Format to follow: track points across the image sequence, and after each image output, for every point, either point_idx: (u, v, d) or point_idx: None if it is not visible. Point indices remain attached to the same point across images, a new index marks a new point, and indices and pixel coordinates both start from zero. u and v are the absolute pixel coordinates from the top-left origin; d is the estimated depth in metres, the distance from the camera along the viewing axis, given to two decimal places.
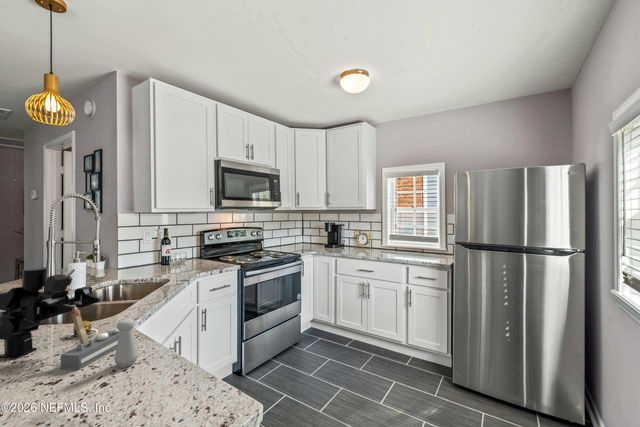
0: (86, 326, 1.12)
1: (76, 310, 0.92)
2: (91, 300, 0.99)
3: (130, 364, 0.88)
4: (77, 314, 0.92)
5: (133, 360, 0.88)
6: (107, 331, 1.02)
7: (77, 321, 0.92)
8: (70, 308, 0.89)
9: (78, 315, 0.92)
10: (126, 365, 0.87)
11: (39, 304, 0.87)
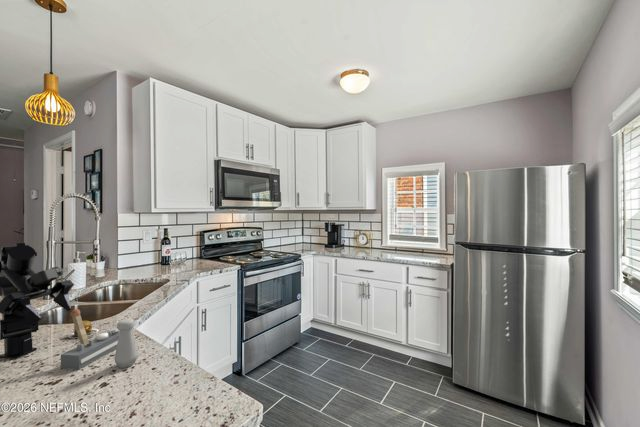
0: (86, 326, 1.12)
1: (76, 310, 0.92)
2: (64, 304, 0.98)
3: (130, 364, 0.88)
4: (77, 314, 0.92)
5: (133, 360, 0.88)
6: (107, 331, 1.02)
7: (77, 321, 0.92)
8: (39, 319, 0.89)
9: (78, 315, 0.92)
10: (126, 365, 0.87)
11: (15, 301, 0.86)
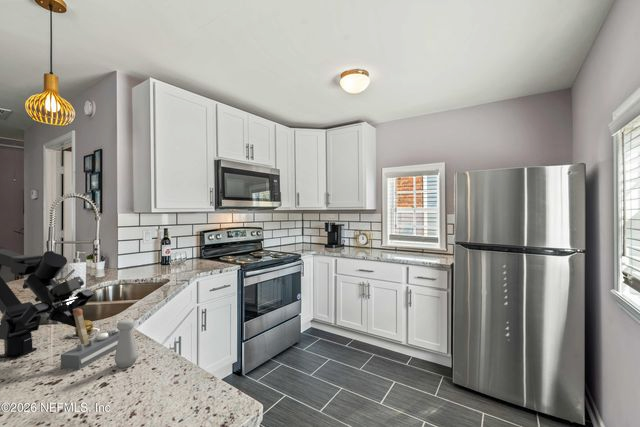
0: (87, 325, 1.12)
1: (79, 309, 0.92)
2: None
3: (130, 364, 0.88)
4: (79, 314, 0.92)
5: (133, 360, 0.88)
6: (107, 331, 1.02)
7: (79, 321, 0.91)
8: None
9: (80, 315, 0.92)
10: (126, 365, 0.87)
11: (55, 308, 0.89)
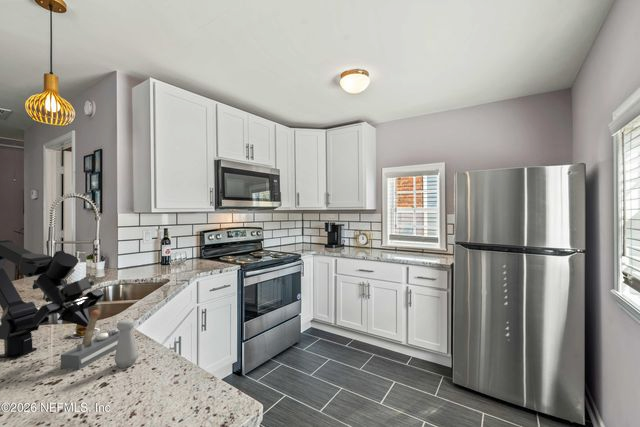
0: None
1: (97, 313, 0.91)
2: None
3: (130, 364, 0.88)
4: (96, 317, 0.91)
5: (133, 360, 0.88)
6: (107, 331, 1.02)
7: (92, 324, 0.91)
8: None
9: (96, 317, 0.91)
10: (126, 365, 0.87)
11: (66, 308, 0.89)
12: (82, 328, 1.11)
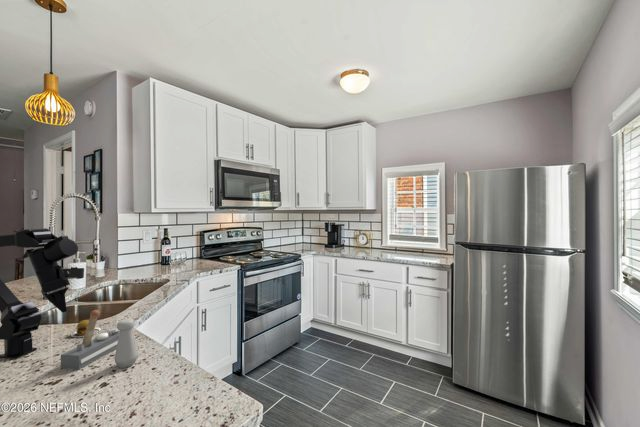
0: None
1: (97, 313, 0.91)
2: None
3: (130, 364, 0.88)
4: (96, 317, 0.91)
5: (133, 360, 0.88)
6: (107, 331, 1.02)
7: (92, 324, 0.91)
8: (65, 311, 0.97)
9: (96, 317, 0.91)
10: (126, 365, 0.87)
11: (63, 288, 0.95)
12: (83, 328, 1.11)
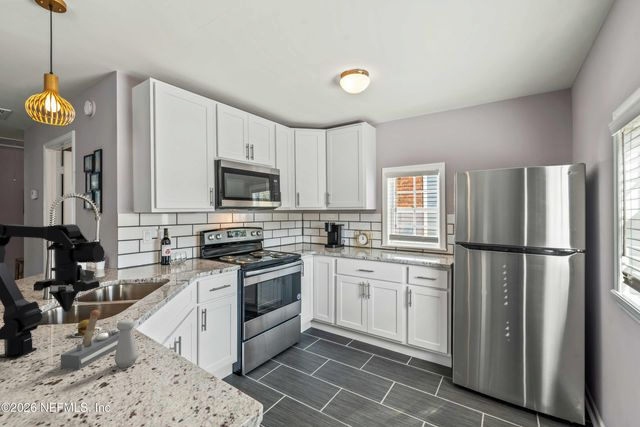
0: None
1: (97, 313, 0.91)
2: None
3: (130, 364, 0.88)
4: (96, 317, 0.91)
5: (133, 360, 0.88)
6: (107, 331, 1.02)
7: (92, 324, 0.91)
8: (69, 310, 0.99)
9: (96, 317, 0.91)
10: (126, 365, 0.87)
11: None
12: (83, 327, 1.12)
